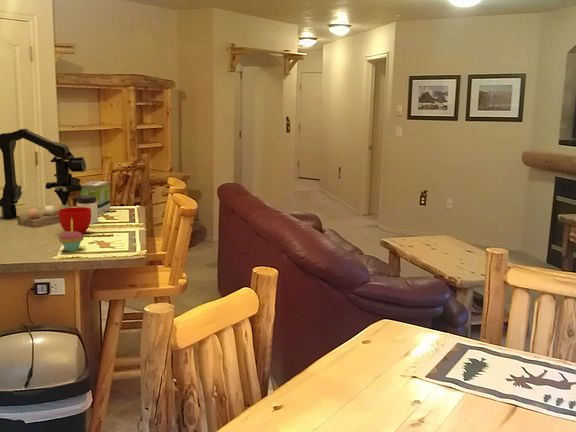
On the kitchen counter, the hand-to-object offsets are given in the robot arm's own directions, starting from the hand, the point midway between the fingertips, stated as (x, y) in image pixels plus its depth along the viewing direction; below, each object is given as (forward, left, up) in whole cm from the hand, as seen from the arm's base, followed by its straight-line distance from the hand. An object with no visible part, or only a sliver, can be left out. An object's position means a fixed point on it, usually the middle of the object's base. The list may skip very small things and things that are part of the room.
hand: (64, 204), depth 282 cm
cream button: (0, -8, -3) cm, 9 cm away
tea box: (0, +19, -7) cm, 20 cm away
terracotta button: (0, -17, -3) cm, 17 cm away
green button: (0, 0, -4) cm, 4 cm away
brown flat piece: (0, -8, -6) cm, 11 cm away
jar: (+17, -1, -7) cm, 18 cm away
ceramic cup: (+28, -18, -7) cm, 34 cm away
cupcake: (+51, -38, -7) cm, 64 cm away
